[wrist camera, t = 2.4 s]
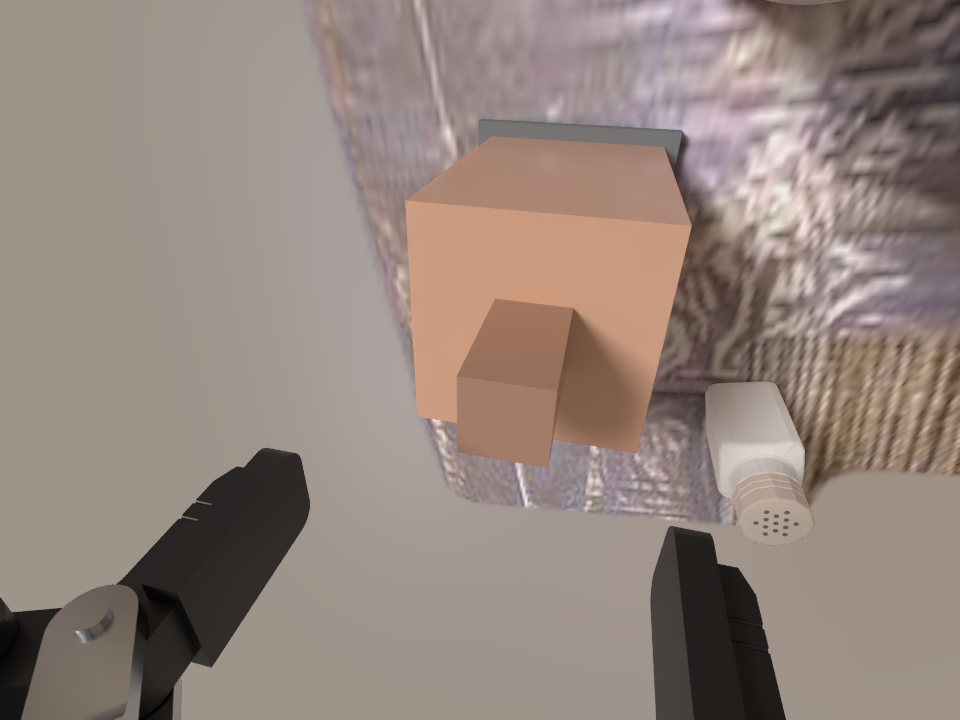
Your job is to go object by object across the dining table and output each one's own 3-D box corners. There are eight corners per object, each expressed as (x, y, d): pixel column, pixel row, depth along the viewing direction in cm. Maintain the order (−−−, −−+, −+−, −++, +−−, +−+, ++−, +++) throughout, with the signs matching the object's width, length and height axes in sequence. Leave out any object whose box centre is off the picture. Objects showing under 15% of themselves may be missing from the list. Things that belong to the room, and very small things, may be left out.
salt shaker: (777, 376, 31) (829, 492, 23) (773, 429, 33) (820, 554, 25) (704, 379, 32) (729, 491, 24) (704, 431, 34) (728, 550, 26)
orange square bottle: (664, 146, 25) (716, 295, 11) (632, 305, 30) (639, 560, 15) (491, 136, 27) (334, 253, 12) (487, 288, 32) (368, 505, 17)
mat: (681, 130, 25) (682, 132, 25) (642, 313, 31) (643, 318, 30) (481, 119, 27) (478, 120, 27) (477, 293, 32) (475, 297, 32)
